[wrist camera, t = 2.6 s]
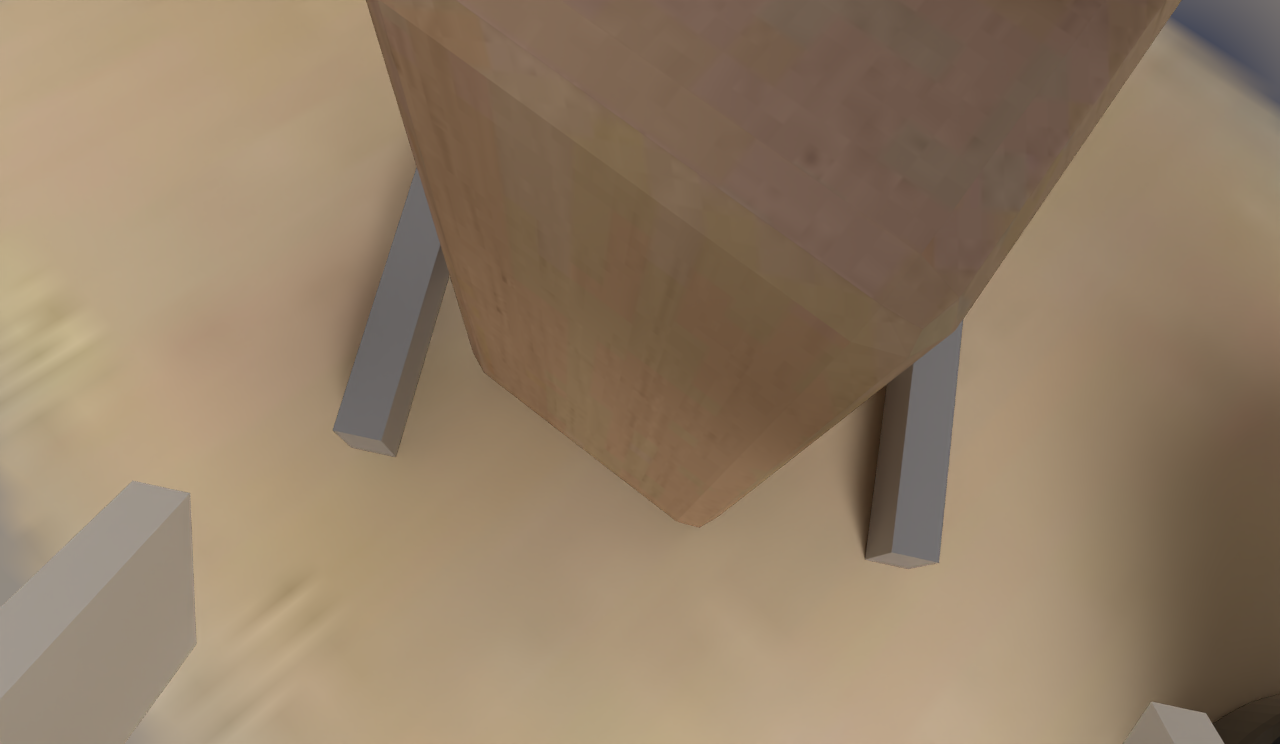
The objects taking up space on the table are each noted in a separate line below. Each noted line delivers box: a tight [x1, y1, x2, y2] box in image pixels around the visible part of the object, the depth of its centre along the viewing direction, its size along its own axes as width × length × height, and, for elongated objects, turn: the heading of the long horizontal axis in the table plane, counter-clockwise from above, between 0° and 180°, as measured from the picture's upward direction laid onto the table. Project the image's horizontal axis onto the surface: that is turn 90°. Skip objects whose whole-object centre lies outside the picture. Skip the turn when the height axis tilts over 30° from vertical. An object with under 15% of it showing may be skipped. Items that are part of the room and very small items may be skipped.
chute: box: [333, 168, 963, 569], centre depth 30 cm, size 12×19×2 cm, turn 79°
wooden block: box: [366, 0, 1181, 527], centre depth 22 cm, size 10×10×20 cm
